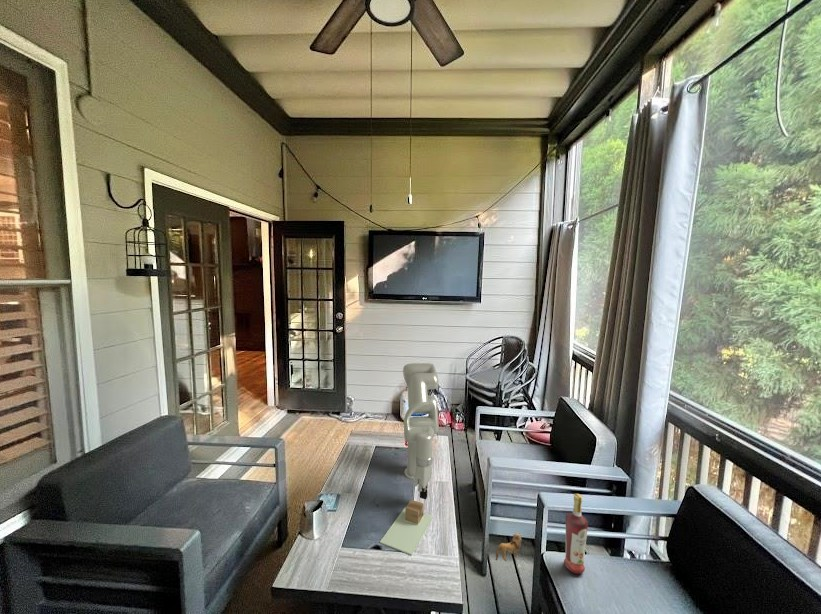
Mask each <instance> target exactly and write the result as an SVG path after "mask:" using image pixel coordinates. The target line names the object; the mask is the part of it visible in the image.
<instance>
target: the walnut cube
mask: <svg viewBox="0 0 821 614" xmlns="http://www.w3.org/2000/svg"><path fill="white" fill-rule="evenodd" d="M424 504H425V503H424V502H421V501H416V500H415V499H410V500H409V502H408V504H407V505H406V506H405V507H406V508H405V507H404V508H405V521H407V522H410V523H413V524H416V525H418V524H419V523H420V521H421V519H422V518H423V513H424V509H425V508H424Z"/></svg>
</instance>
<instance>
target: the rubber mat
mask: <svg viewBox="0 0 821 614" xmlns="http://www.w3.org/2000/svg"><path fill="white" fill-rule="evenodd" d="M405 508H406V506H404V508H403V509H402V510H401V512H400V514H398V516H397V518H396V519H395V520H394V521H393V523H392V525H390V527H388V530H387V531H386V533H385V534H384V535H383V537H382V538H381V540H380V541H379V544H381V545H384V546H386V547H389V548H391V549H394V550H396V551H400V552H402V553H405V554H406V555H409V556H413V554H414V552H415V551H416V549H417V547H418V545H419V544H420V542H421V540H422V538H423V536H424V534H425V533H426V531H427V529H428V527H429V526H430V524H431V523H432V521H433V519H434V516H433V515H431V514H428V513H425V512H423V518H422V519H421V521H420V523H419V524H418V525H416V524H413V523H410V522H407V521H405ZM430 522H431V523H430Z"/></svg>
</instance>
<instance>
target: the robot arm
mask: <svg viewBox="0 0 821 614" xmlns="http://www.w3.org/2000/svg"><path fill="white" fill-rule="evenodd" d="M402 373H403V378H404V382H405V384H406V388H407V406H408V409H407V410H406V412H405V414H404V417H403V436H404V440H405V441H406V442H407V456H406V457H407V459H406V461H407V467H405V469H404V475H405V477H407V479H409V480H414V486H415V487H417V492H419V499H423V500H425V501H426V500H427V498H428V488H429V482H430V481H431V480H432V475H433V474H432V464H433V440H434V435H437V434H438V432H439V430H440V429H439V428H440V427H439V424H440V422H439V407H438V401H437V398H436V397H435V395H429V393H428V390H436V389H438V387H439V376H438V373H437V370H436V367H435V365H434V364H433V363H428V362H427V363H425V362H424V363H418V362H417V363H414V362H413V363H407V364H405V365H404V366H403V368H402ZM414 414H415V415H416V416H412V415H414ZM418 414H419V415H421V414H422V416H417V415H418ZM424 414H425V416H423V415H424ZM427 414H428V415H429V416H427Z"/></svg>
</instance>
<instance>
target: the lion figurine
mask: <svg viewBox="0 0 821 614" xmlns="http://www.w3.org/2000/svg"><path fill="white" fill-rule="evenodd" d="M521 544H522V537H521V534H519V533H517V532H516V533H515V534H513V535H512V539H511V541H510V542H508V543H507V542H505V543H504V542H502V543H500V544H499V545H498V547H497V551H496V552H495V557H496V558H495V561H498V558H499V553H500V552H501V554H502V555H501V556H502V559H503V561H505V562H507V561H508V560H507V557H506V552H508V553H510V554H513V555H514V557H515V558H518V550H520V548H521V546H522V545H521Z"/></svg>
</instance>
